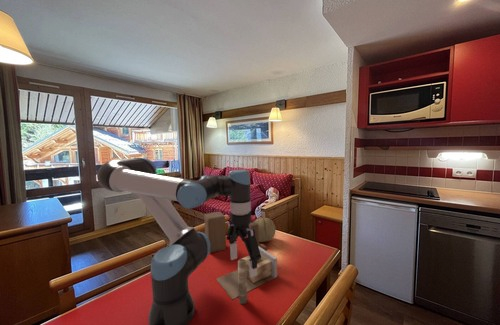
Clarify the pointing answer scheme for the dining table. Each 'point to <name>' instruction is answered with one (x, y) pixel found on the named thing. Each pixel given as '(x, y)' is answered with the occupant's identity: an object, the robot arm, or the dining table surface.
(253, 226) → the wooden block
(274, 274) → the wall
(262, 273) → the oak block
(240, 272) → the dowel
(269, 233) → the cantaloupe
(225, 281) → the jig board
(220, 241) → the block
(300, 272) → the dining table surface
